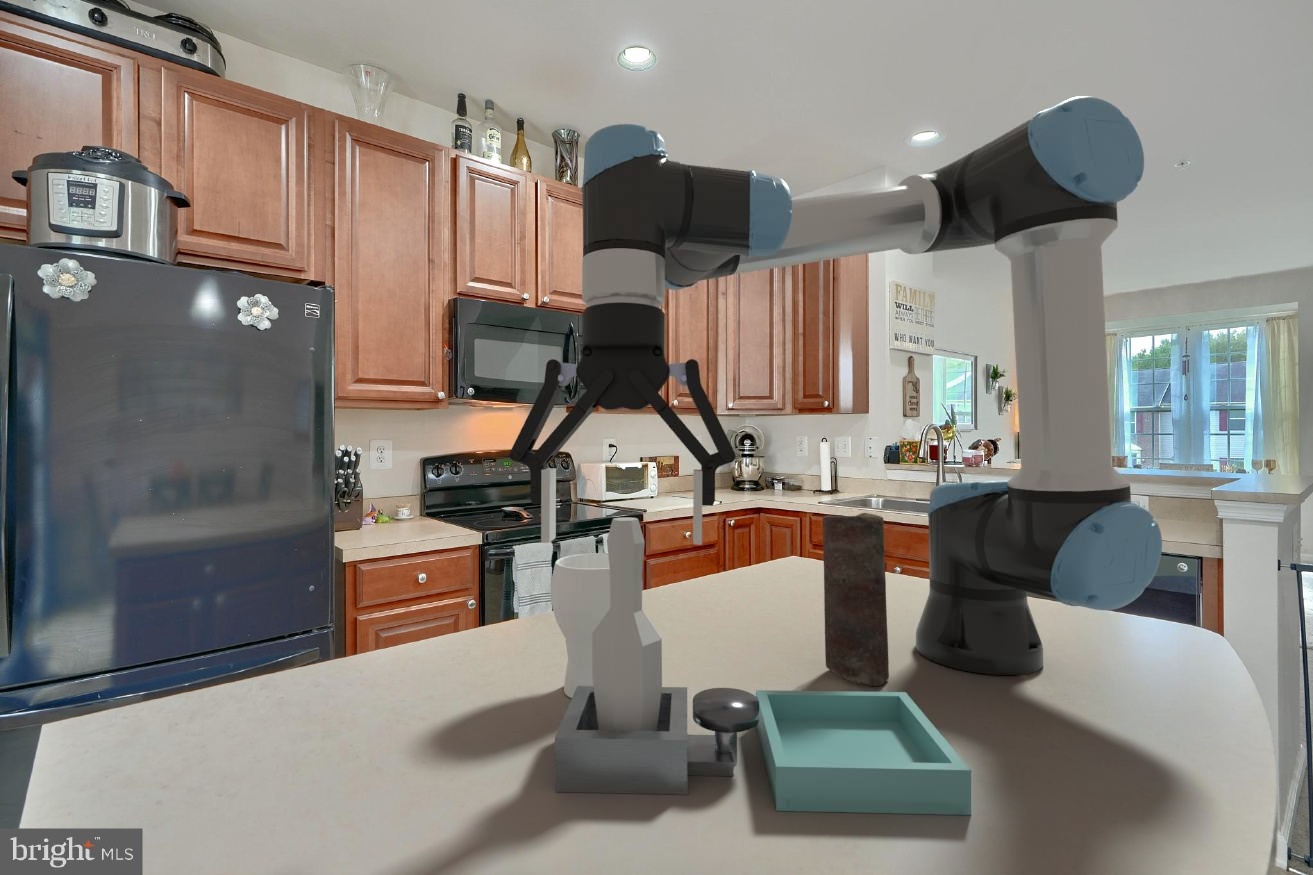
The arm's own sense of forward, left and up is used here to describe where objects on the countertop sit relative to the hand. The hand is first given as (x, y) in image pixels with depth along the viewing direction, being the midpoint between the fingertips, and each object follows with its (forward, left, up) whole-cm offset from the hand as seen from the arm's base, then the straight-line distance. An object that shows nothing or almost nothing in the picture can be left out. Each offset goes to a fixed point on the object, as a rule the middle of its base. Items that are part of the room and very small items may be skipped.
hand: (622, 541), depth 58 cm
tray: (-20, 0, -20) cm, 28 cm away
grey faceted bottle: (0, 0, -20) cm, 20 cm away
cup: (+5, -16, -20) cm, 26 cm away
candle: (-26, -21, -20) cm, 39 cm away
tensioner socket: (-3, 0, -20) cm, 20 cm away
